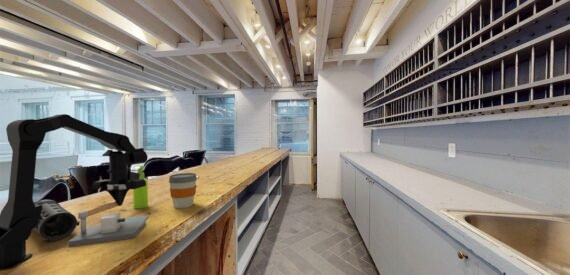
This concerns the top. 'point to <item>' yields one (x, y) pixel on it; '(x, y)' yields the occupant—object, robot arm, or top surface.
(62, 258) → the top surface
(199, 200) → the top surface
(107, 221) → the plug
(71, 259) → the top surface
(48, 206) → the muzzle brake
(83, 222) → the socket block
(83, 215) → the tan wooden bar
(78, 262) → the top surface
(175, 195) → the reusable coffee cup
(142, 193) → the soap dispenser
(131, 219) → the mat
